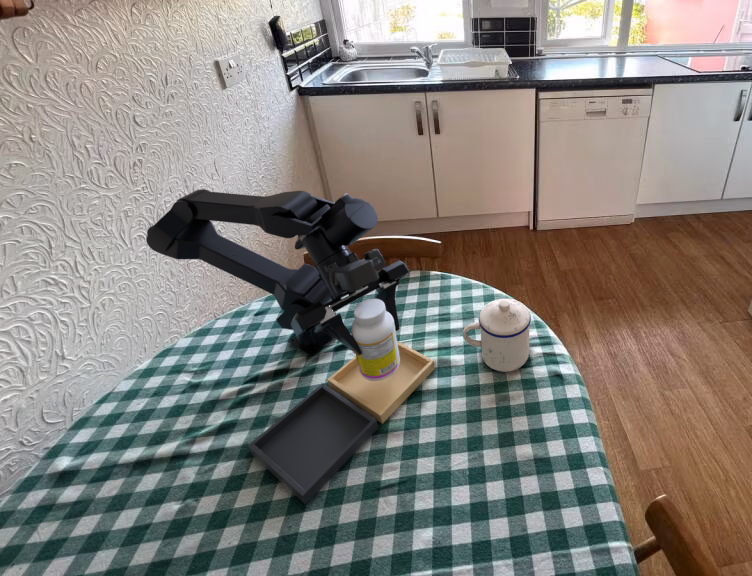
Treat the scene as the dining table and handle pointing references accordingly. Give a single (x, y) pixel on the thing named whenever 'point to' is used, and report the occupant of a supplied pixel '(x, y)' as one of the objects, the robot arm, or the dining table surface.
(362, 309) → the supplement bottle
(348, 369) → the light tray
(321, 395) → the dark tray
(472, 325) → the teacup with lid
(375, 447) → the dining table surface
